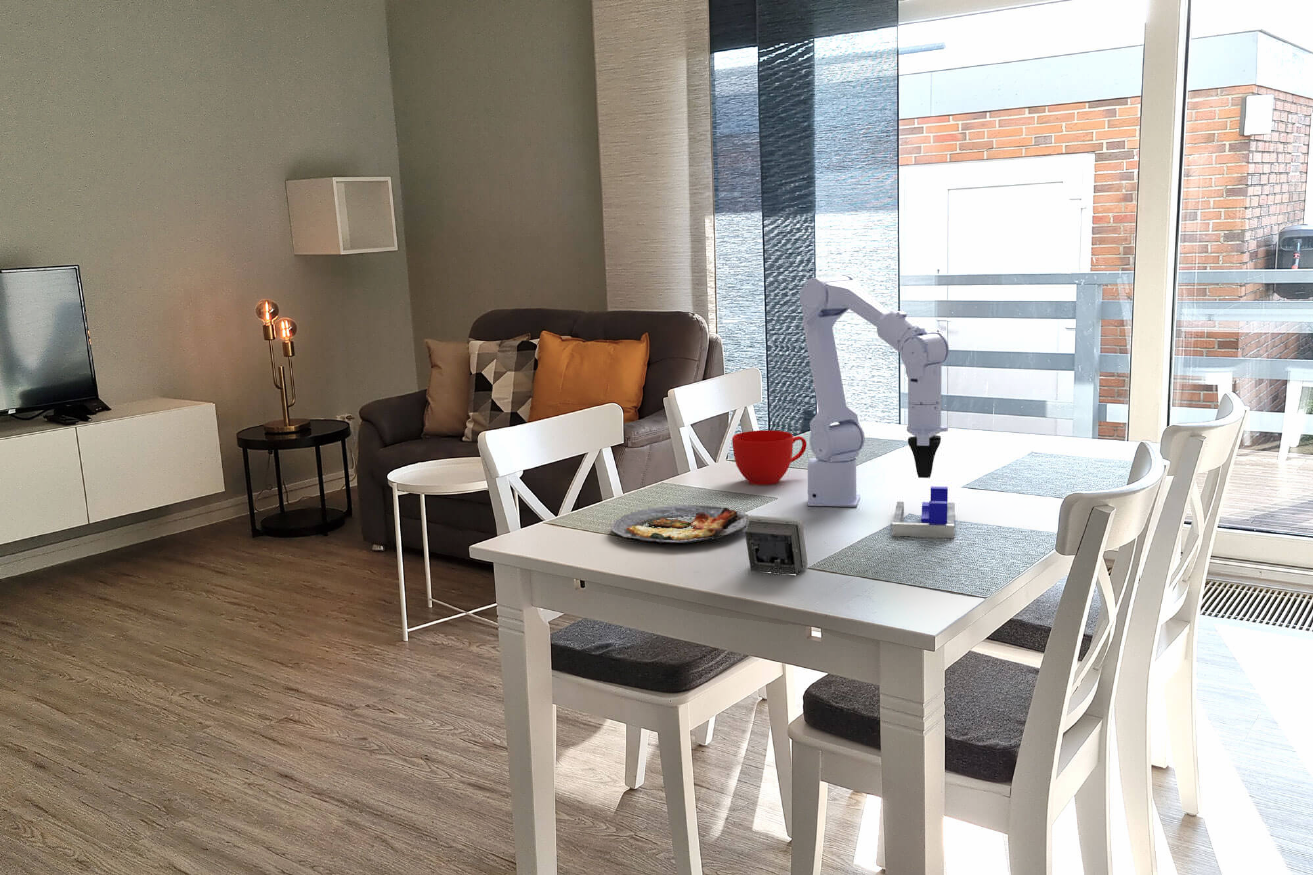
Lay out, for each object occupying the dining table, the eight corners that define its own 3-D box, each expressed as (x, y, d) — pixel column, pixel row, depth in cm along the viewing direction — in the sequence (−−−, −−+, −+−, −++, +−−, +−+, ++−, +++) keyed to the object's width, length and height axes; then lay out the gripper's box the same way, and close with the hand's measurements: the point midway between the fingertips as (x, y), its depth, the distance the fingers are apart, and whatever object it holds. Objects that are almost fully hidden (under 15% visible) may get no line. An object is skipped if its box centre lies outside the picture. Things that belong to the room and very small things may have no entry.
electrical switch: (808, 569, 173) (805, 515, 171) (799, 582, 169) (795, 527, 166) (753, 564, 177) (750, 511, 175) (742, 577, 173) (738, 522, 170)
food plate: (770, 521, 202) (769, 502, 201) (713, 557, 182) (711, 537, 182) (655, 512, 215) (654, 495, 214) (590, 545, 195) (588, 527, 194)
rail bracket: (892, 536, 189) (892, 524, 188) (897, 512, 203) (897, 501, 203) (953, 538, 186) (954, 525, 186) (954, 514, 200) (954, 502, 200)
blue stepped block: (922, 517, 200) (922, 486, 199) (947, 518, 199) (947, 486, 198) (920, 536, 189) (920, 502, 188) (946, 536, 188) (946, 503, 186)
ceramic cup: (821, 481, 230) (820, 435, 229) (750, 491, 224) (748, 444, 223) (792, 469, 242) (791, 426, 240) (723, 479, 236) (722, 434, 234)
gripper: (947, 409, 183) (946, 487, 186) (948, 395, 197) (947, 468, 199) (904, 409, 185) (904, 486, 188) (908, 395, 199) (908, 467, 201)
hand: (924, 477), depth 194 cm, fingers closed
